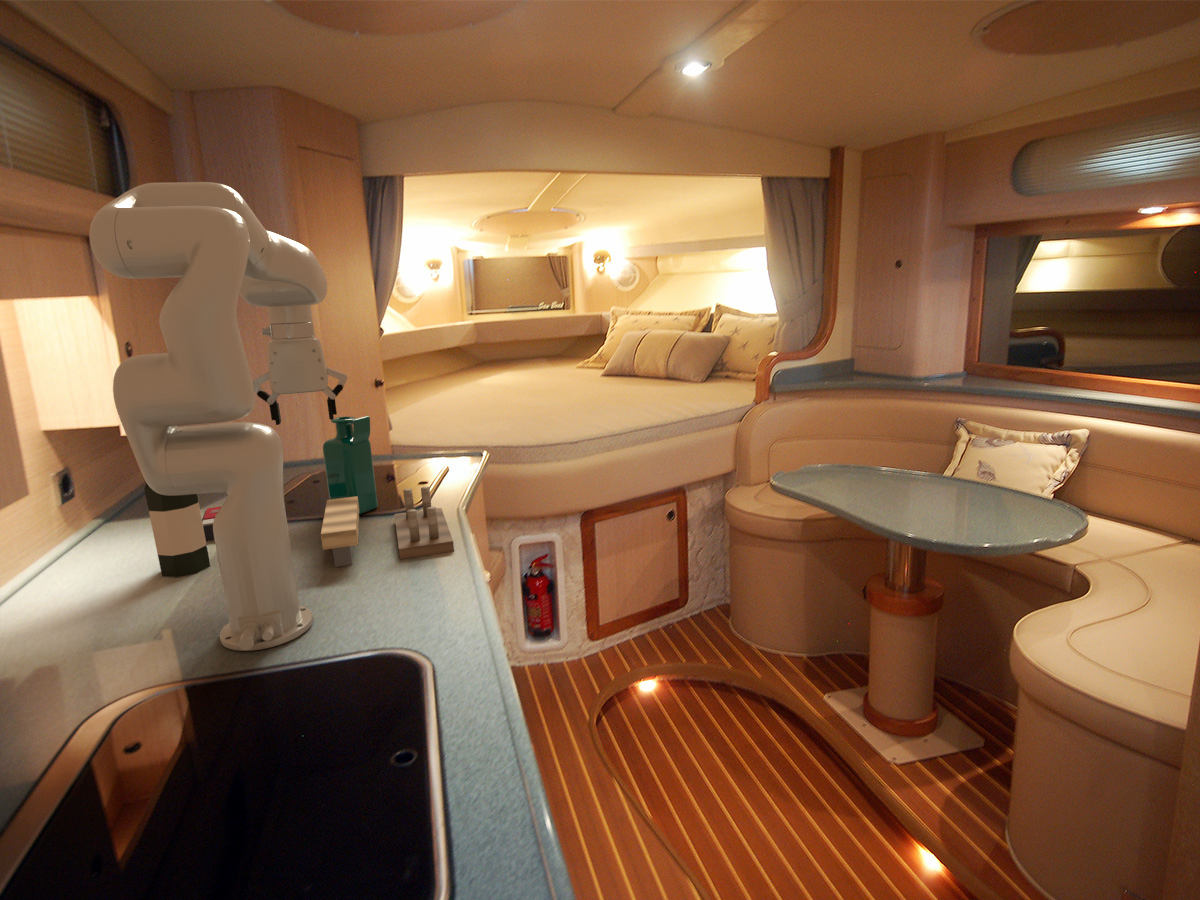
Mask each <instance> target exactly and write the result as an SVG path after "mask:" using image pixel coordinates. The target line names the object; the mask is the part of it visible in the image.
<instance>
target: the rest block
mask: <svg viewBox="0 0 1200 900" xmlns="http://www.w3.org/2000/svg"><path fill="white" fill-rule="evenodd" d="M353 554H354V545H353V546H346V547H339V548H332V556H333V557H332V558H333V563H334V567H335V568H339V567H343V566H344V567H345V566H346V567H347V566H352V565H353V556H354V555H353Z"/></svg>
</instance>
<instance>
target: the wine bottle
mask: <svg viewBox="0 0 1200 900" xmlns="http://www.w3.org/2000/svg"><path fill="white" fill-rule="evenodd" d="M144 494H145V499H146V505H147V508H148V513H149V519H150V524H151V527H152V532H153V538H154V543H155V548H156V553H157V558H158V564H159V569H160V572H161V577H167V578H180V577H184V576H185V577H186V576H189V575H194V574H198V573H199V572H202V571H204V570H205V569H207V568H209V567H211V564H210V563H211V561H210V557H209V551H208V546H207V545H208V544H207V542H206V539H205V534H204V529H203V523H202V518H203V517H202V514H201V508H200V504H199V503H200V501H199V496H198V494H189V495H175V496H168V495H162V494H159V493H156V492H155V491H153V490H152V489H151V488H150V487H149V486H148V484H147V483H146V482H145V483H144Z"/></svg>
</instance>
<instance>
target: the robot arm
mask: <svg viewBox="0 0 1200 900" xmlns="http://www.w3.org/2000/svg"><path fill="white" fill-rule="evenodd" d="M89 244H90V247H91V250H92V253H93V255H94V258H95V260H96V261H97V262H98V263H99V265H100V266H101V267H102V268H103V269H104V270H106V271H107V272H108V273H110V274H112V275H114V276H116V277H117V278H123V279H130V280H137V279H138V280H141V279H165V278H166V279H168V278H180V279H179V281H178V282H177V283H176V285H175V286H174V287H173V289H172V290H171V292H170V294H169V295H168V296H167V298H166V300H165V302H164V304H163V306H162V308H161V310H160V312H159V313H160V314H159V318H158V321H159V328H160V331H161V334H162V337H163V341H164V345H165V348H166V351H167V352H163V353H162V352H159V353H146V354H138V355H134V356H131V357H129V358H126V359H125V360H123V361H122V362H121V363H120V364H119V365H118V367H117V368H116V371H115V373H114V376H113V380H112V382H113V383H112V393H113V395H112V396H113V401H114V405H115V408H116V411H117V415H118V418H119V420H120V423H121V425H122V428H123V430H124V433H125V435H126V438H127V440H128V442H129V445H130V447H131V451H132V453H133V455H134V458H135V461H136V462H137V465H138V468H139V470H140V472H141V474H142V476H143V479H144V481H145V483H147V484H148V486H149V487H150V488H151V489H152V490H153V491H155V492H156V493H159V494H162V495H168V496H175V495H189V494H197V495H199V494H200V495H201V494H212V493H214V494H220V493H222V494H226V495H227V497H226V500H225V501H224V503H223V504H222V505H221V506H222V507H221V508H220V509H219V511H218V512H217V514H216V516H215V518H214V522H213V533H214V539H215V540H214V543H215V548H216V555H217V559H218V566H219V572H220V576H221V577H220V578H221V582H222V587H223V594H224V598H225V604H226V605H225V606H226V609H227V615H228V621H229V622H228V623H226V624H225V625H224V626H223V628H221V629H220V632H219V641H220V643H221V645H223V647H225V649H226V648H227V649H229V650H233V651H239V652H240V651H241V652H249V651H250V652H251V651H259V650H265V649H269V648H273V647H276V646H281V645H283V644H286V643H288V642H290V641H292V640H295V639H297V638H298V637H300V636H301V635H303V634H304V633H306V632H307V631H308V630H309V629H310V628H311V626H312V625H313V623H314V616H313V615H314V614H313V612H312V610H311V609H310V608H308V607H306V606H304V605H301V603H300V599H299V593H298V592H299V591H298V586H297V585H298V584H297V579H296V573H295V572H296V571H295V565H294V560H293V553H292V547H291V546H292V545H291V539H290V532H289V527H288V519H287V514H286V513H287V512H286V506H285V505H286V504H285V497H284V496H285V495H284V456H285V455H284V446H283V442H282V438H281V436H280V435H279V434H278V432H277V430H275V429H273V428H272V427H271V426H269V425H266V424H263V423H260V422H250V421H249V422H246V421H243V422H242V421H241V422H240V421H239V422H238V420H241V419H243V418H246V417H247V416H249V415H250V414H251V412H252V411H253V410H254V408H255V406H256V405H255V404H256V396H257V397H259V399H262V400H263V401H264V402H265V403H267V405H269V412H270V418H271V421H275V425H276V426H278V425H281V423H282V418H281V417H282V416H281V411H280V404H279V402H278V400H277V399H278V398H279V396H280V395H290V394H291V395H293V394H305V393H315V392H316V393H317V392H323V394H325V395H326V397H327V400H326V402H327V403H326V404H327V411H328V412H327V413H328V419H329V420H330V421H331V420H334V418H335V417H334V415H338V412H337V411H338V410H337V403H336V397H338V395H340V393H341V392H342V391H343V389H344V388H345V384H346V383H347V380H348V374H345V373H343V372H341V371H338V370H335V369H333V368H331V367H328V366H327V365H326V364H327V363H326V359H325V355H324V351H323V346H322V343H321V341H320V339H319V338H316V336H315V329H314V320H313V313H312V306H314V305H318V304H320V303H322V302H323V301H324V300H325V298H326V296H327V294H328V293H327V292H328V282H327V277H326V274H325V272H324V269H323V267H322V266H321V265H322V264H320V262H319V260H318V259H317V256H316V255H315V253H313V251H312V250H310V248H308V247H307V246H305V245H303V244H302V243H301V242H300V243H299V242H297V241H295V240H292V239H290V238H287V237H285V236H282V235H280V234H278V233H276V232H273V231H269V230H266V228H265V227H264V226H263V224H262V223H261V222H260V220H259V219H258V217H257V216H256V215H255V213H254V212H253V210H252V209H251V207H250V206H249V204H248V203H247V202H246V201H245V199H244V198H243V196H242V195H240V193H239V192H237V191H236V190H235V189H233V188H232V187H230V186H228V185H226V184H222V183H219V182H212V181H211V182H209V181H208V182H207V181H190V182H188V181H187V182H185V181H183V182H181V181H180V182H179V181H178V182H177V181H176V182H149V183H148V182H147V183H143V184H140V185H138V186H134V187H133V188H131V189H129V190H127V191H125V192H123V193H122V194H121V195H119V196H118V197H116V198H114V199H113V200H111V201H109V202H108V203H107V204H105V205H103V206H102V207H101V208H100V209H99V210H97V212H96V213H95V215H94V216H93V218H92V220H91V223H90V227H89ZM239 296H240V298H242V299H243V301H244V302H245V303H246V304H248V305H250V306H253V307H257V308H267V313H268V314H267V315H268V321H269V324H268V326H265V327H262V328H261V331H262V333H261V334H262V335H263V336H267V337H268V336H269V337H270V339H271V340H270V341H268V342H267V352H266V353H267V354H266V355H267V358H266V359H267V369H268V370H267V371H266V373H264V374H262V375H260V376H259V377H257V378H255V379H254V380H253V376H252V373H251V369H250V366H249V365H250V364H249V361H248V358H247V354H246V350H245V346H244V343H243V339H242V336H241V331H240V327H239V321H238V314H237V313H238V312H237V311H238V301H239ZM329 376H330V377H333V378H335V379H337V380H338V382H337V384H336V386H335V387H334V388H333V389H332V388H331V387H330V386H329ZM267 381H269V386H270V389H271V392H272V393H271V394H269V393H268V392H266V391H264V389H263V387H261V385H262V384H264V383H265V382H267ZM233 421H237V422H233ZM204 424H205V425H204ZM190 425H191V426H190Z"/></svg>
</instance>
